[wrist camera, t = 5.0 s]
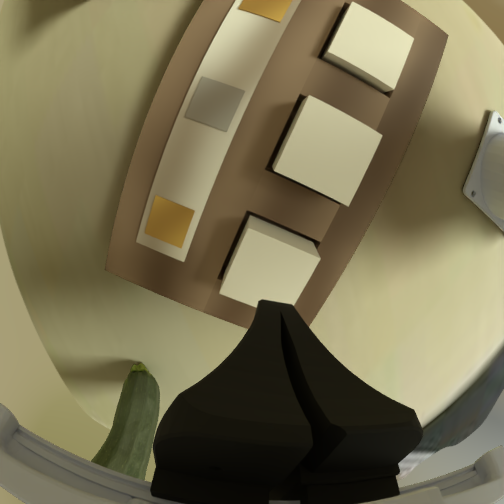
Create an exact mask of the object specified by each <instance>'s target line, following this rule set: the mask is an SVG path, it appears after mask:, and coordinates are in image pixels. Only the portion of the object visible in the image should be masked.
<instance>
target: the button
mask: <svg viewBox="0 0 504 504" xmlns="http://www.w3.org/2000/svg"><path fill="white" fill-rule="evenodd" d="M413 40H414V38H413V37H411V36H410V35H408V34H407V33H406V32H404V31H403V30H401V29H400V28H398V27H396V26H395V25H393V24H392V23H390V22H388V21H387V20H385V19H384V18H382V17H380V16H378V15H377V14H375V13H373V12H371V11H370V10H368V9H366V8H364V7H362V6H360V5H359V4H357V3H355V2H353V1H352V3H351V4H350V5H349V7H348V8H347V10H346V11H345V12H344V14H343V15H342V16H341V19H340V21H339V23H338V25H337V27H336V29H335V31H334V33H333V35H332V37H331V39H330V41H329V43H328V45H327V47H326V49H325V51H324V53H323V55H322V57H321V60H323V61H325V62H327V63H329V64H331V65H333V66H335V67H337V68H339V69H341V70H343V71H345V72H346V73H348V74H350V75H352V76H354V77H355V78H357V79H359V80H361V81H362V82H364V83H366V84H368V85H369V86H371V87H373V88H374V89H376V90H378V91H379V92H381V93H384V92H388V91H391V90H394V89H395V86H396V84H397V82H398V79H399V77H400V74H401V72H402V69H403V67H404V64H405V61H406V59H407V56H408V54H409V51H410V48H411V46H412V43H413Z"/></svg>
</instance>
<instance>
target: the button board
mask: <svg viewBox="0 0 504 504" xmlns="http://www.w3.org/2000/svg"><path fill="white" fill-rule="evenodd" d="M352 1H353V2H355V3H357V4H359V5H360V6H362V7H364V8H366V9H368V10H370V11H371V12H373V13H375V14H377V15H378V16H380V17H382V18H384V19H385V20H387V21H388V22H390V23H392V24H393V25H395V26H396V27H398V28H400V29H401V30H403V31H404V32H406V33H407V34H408V35H410V36H411V37H413V38H414V40H413V43H412V46H411V48H410V51H409V54H408V56H407V59H406V61H405V64H404V67H403V69H402V72H401V74H400V77H399V79H398V82H397V84H396V86H395V89H394V90H391V91H388V92H384V93H381V92H379V91H378V90H376V89H374V88H373V87H371V86H369V85H368V84H366V83H364V82H362V81H361V80H359V79H357V78H355V77H354V76H352V75H350V74H348V73H346V72H345V71H343V70H341V69H339V68H337V67H335V66H333V65H331V64H329V63H327V62H325V61H323V60H321V57H322V55H323V53H324V51H325V49H326V47H327V45H328V43H329V41H330V39H331V37H332V35H333V33H334V31H335V29H336V27H337V25H338V23H339V21H340V19H341V16H342V15H343V14H344V12H345V11H346V10H347V8H348V7H349V5H350V4H351V3H352ZM447 38H448V34H446V33H445V32H444V31H443V30H441V29H440V28H439V27H438V26H436V25H435V24H434V23H432V22H431V21H430V20H428V19H427V18H426V17H424V16H423V15H421V14H420V13H419V12H417V11H416V10H414V9H413V8H411V7H410V6H408V5H407V4H405V3H404V2H402V1H401V0H203V2H202V3H201V5H200V7H199V8H198V10H197V12H196V13H195V15H194V17H193V19H192V20H191V22H190V24H189V26H188V28H187V29H186V31H185V33H184V35H183V37H182V39H181V41H180V43H179V45H178V47H177V49H176V51H175V53H174V55H173V57H172V59H171V61H170V63H169V65H168V67H167V69H166V71H165V74H164V76H163V78H162V80H161V83H160V85H159V87H158V89H157V92H156V94H155V97H154V99H153V101H152V104H151V106H150V109H149V112H148V114H147V117H146V119H145V122H144V125H143V127H142V130H141V133H140V136H139V139H138V142H137V144H136V147H135V150H134V154H133V157H132V160H131V163H130V166H129V169H128V173H127V176H126V180H125V183H124V187H123V190H122V194H121V198H120V201H119V205H118V209H117V213H116V218H115V222H114V226H113V231H112V235H111V240H110V245H109V250H108V255H107V260H106V266H105V270H106V271H108V272H111V273H113V274H115V275H117V276H119V277H121V278H123V279H126V280H128V281H130V282H132V283H134V284H137V285H139V286H141V287H143V288H146V289H148V290H150V291H153V292H155V293H157V294H160V295H162V296H164V297H167V298H169V299H172V300H174V301H176V302H179V303H181V304H184V305H186V306H189V307H191V308H194V309H196V310H199V311H201V312H204V313H206V314H209V315H212V316H214V317H217V318H220V319H222V320H225V321H228V322H230V323H233V324H236V325H239V326H241V327H244V328H247V329H249V328H250V326H251V324H252V322H253V320H254V316H255V312H256V307H253V306H251V305H248V304H245V303H243V302H240V301H237V300H235V299H232V298H230V297H227V296H224V295H222V294H219V292H220V288H221V284H222V280H223V276H224V273H225V270H226V268H227V266H228V264H229V261H230V259H231V257H232V254H233V252H234V250H235V248H236V245H237V243H238V241H239V238H240V236H241V234H242V232H243V229H244V227H245V225H246V223H247V220H248V218H249V216H250V215H251V216H254V217H256V218H258V219H261V220H263V221H265V222H268V223H270V224H272V225H275V226H277V227H279V228H282V229H284V230H286V231H289V232H291V233H293V234H295V235H298V236H300V237H302V238H305V239H307V240H309V241H311V242H313V243H314V245H315V248H316V250H317V252H318V254H319V256H320V258H321V259H320V261H319V263H318V264H317V266H316V268H315V270H314V272H313V273H312V275H311V277H310V279H309V280H308V282H307V284H306V286H305V287H304V289H303V291H302V292H301V294H300V296H299V298H298V299H297V301H296V303H295V304H294V307H295V309H296V310H297V311H298V313H299V314H300V316H301V317H302V318H303V320H304V321H305V323H306V324H307V325H308V327H309V326H310V324H311V323H312V321H313V320H314V318H315V317H316V315H317V313H318V312H319V310H320V309H321V307H322V306H323V304H324V302H325V301H326V299H327V298H328V296H329V294H330V293H331V291H332V290H333V288H334V286H335V285H336V283H337V281H338V280H339V278H340V276H341V275H342V273H343V271H344V270H345V268H346V266H347V264H348V263H349V261H350V259H351V258H352V256H353V254H354V252H355V250H356V249H357V247H358V245H359V243H360V242H361V240H362V238H363V236H364V234H365V232H366V231H367V229H368V227H369V225H370V223H371V221H372V219H373V217H374V216H375V214H376V212H377V210H378V208H379V206H380V204H381V202H382V200H383V198H384V196H385V194H386V192H387V190H388V188H389V186H390V184H391V182H392V180H393V178H394V176H395V173H396V171H397V169H398V167H399V165H400V163H401V161H402V158H403V156H404V154H405V152H406V149H407V147H408V145H409V143H410V140H411V138H412V136H413V133H414V131H415V128H416V126H417V124H418V121H419V119H420V116H421V114H422V111H423V109H424V106H425V104H426V101H427V98H428V96H429V93H430V90H431V87H432V85H433V82H434V79H435V76H436V73H437V70H438V67H439V64H440V61H441V58H442V55H443V52H444V49H445V45H446V42H447ZM309 95H310V96H312V97H314V98H317V99H319V100H321V101H323V102H325V103H327V104H328V105H330V106H332V107H334V108H336V109H338V110H340V111H342V112H344V113H345V114H347V115H349V116H351V117H353V118H354V119H356V120H358V121H360V122H361V123H363V124H365V125H367V126H368V127H370V128H372V129H373V130H375V131H376V132H378V133H380V134H381V135H383V136H382V138H381V140H380V142H379V145H378V147H377V149H376V151H375V153H374V155H373V158H372V160H371V162H370V164H369V166H368V168H367V170H366V172H365V174H364V176H363V178H362V181H361V183H360V185H359V187H358V189H357V191H356V193H355V195H354V197H353V199H352V201H351V203H350V205H349V207H348V206H346V205H344V204H342V203H340V202H339V201H337V200H335V199H333V198H331V197H329V196H327V195H325V194H322V193H320V192H318V191H316V190H314V189H312V188H310V187H308V186H306V185H304V184H302V183H299V182H297V181H295V180H293V179H291V178H289V177H286V176H284V175H282V174H280V173H278V172H275V171H274V170H273V168H272V165H273V163H274V161H275V158H276V156H277V154H278V152H279V150H280V148H281V145H282V143H283V141H284V139H285V137H286V135H287V132H288V130H289V128H290V126H291V124H292V122H293V120H294V117H295V115H296V113H297V111H298V109H299V107H300V105H301V102H302V101H303V100H304V99H305V98H307V97H308V96H309Z"/></svg>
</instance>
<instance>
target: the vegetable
mask: <svg viewBox="0 0 504 504" xmlns="http://www.w3.org/2000/svg"><path fill="white" fill-rule="evenodd" d="M159 403H160V391H159V386H158V384H157V382H156V380H155V378H154V377H153V376H152V374H150V373H149V371H147V369H146V368H145V366H144V365H143V364H142V363H140V364H139V365H137V366H136V364H134V365H133V366H132V368H131V371H130V374H129V375H128V378H127V379H126V380H125V382H124V384H123V389H122V392H121V396H120V399H119V402H118V405H117V409H116V413H115V417H114V421H113V426H112V429H111V431H110V433H109V436H108V438H107V439H106V441H105V443H104V444H103V446H102V447H101V449H100V450H99V452H98V453H97V454H96V456H95V457H94V458H93V459H92V461H91V462H93V463H95V464H98V465H100V466H103V467H105V468H108V469H111V470H114V471H116V472H119V473H122V474H125V475H128V476H131V477H134V478H138V479H141V480H145V475H146V469H147V466H148V462H149V458H150V453H151V448H152V444H153V439H154V434H155V429H156V426H157V422H158V416H159Z"/></svg>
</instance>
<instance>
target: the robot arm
mask: <svg viewBox="0 0 504 504" xmlns="http://www.w3.org/2000/svg"><path fill="white" fill-rule="evenodd" d="M472 191H473V194H472V196H471V193H472ZM463 193H464V195H465V196H466V197H467V198H469V199H470V200H471V201H472V202H473V203H474V204H475V205H476V206H477V207H478V208H480V209H481V210H482V211H483V212H484V213H485V214H486V215H487V216H488V217H489V218H490V219H491V220H492V221H493V222H494V223H495V224H496V225H497V226H498V227H499V228H500V229H501V230H502V231H503V232H504V119H503V118H502V117H501V116H500V114H499V113H498V112H497V111H491V112H490V115H489V119H488V122H487V125H486V129H485V132H484V135H483V138H482V141H481V144H480V146H479V149H478V152H477V155H476V157H475V160H474V163H473V165H472V168H471V170H470V173H469V175H468V178H467V180H466V182H465V185H464V187H463ZM422 437H423V429H422V427H421V425H420V422H419V420H418V417H417V415H416V413H415V411H414V409H411V408H409V407H407V406H405V405H403V404H401V403H399V402H397V401H395V400H392V399H391V398H389V397H387V396H385V395H384V394H382V393H380V392H379V391H377V390H375V389H374V388H372V387H371V386H369V385H368V384H366V383H365V382H363V381H362V380H361V379H360V378H358V377H357V376H356V375H354V374H353V373H352V372H351V371H349V370H348V369H347V368H346V367H345V366H344V365H343V364H341V363H340V362H339V361H338V360H337V359H336V358H335V357H334V356H333V355H332V354H331V353H330V352H329V351H328V350H327V349H326V347H325V346H324V345H323V344H322V343H321V342H320V341H319V339H318V338H317V337H316V336H315V334H314V333H313V332H312V331H311V329H310V328H309V327H308V325H307V324H306V323H305V321H304V320H303V318H302V317H301V316H300V314H299V313H298V311H297V310H296V309H295V307H294V306H293V305H292V304H287V303H281V302H276V301H270V300H264V299H261V300H259V301H258V304H257V308H256V312H255V316H254V320H253V322H252V324H251V326H250V328H249V329H248V331H247V332H246V334H245V335H244V337H243V339H242V340H241V341H240V343H239V344H238V345H237V347H236V348H235V349H234V350H233V351H232V353H231V354H230V355H229V356H228V357H227V358H226V359H225V360H224V361H223V362H222V363H221V364H220V365H219V366H218V367H217V368H216V369H214V370H213V371H212V372H211V373H209V374H208V375H207V376H206V377H204V378H203V379H202V380H200V381H199V382H198V383H196V384H195V385H193V386H191V387H190V388H188V389H186V390H185V391H183V392H182V393H180V394H179V395H178V396H177V397H176V399H175V400H174V401H173V403H172V404H171V405H170V407H169V408H168V410H167V411H166V413H165V414H164V416H163V418H162V420H161V421H160V424H159V426H158V428H157V431H156V435H155V438H154V442H153V453H154V458H155V463H156V468H155V472H154V476H153V480H152V483H151V482H148V481H144V480H141V479H138V478H134V477H131V476H128V475H125V474H122V473H119V472H116V471H114V470H111V469H108V468H105V467H103V466H100V465H98V464H95V463H93V462H90V461H88V460H86V459H83V458H81V457H79V456H77V455H75V454H72V453H70V452H68V451H66V450H64V449H62V448H60V447H58V446H56V445H54V444H52V443H50V442H48V441H47V440H45V439H43V438H41V437H39V436H38V435H36V434H34V433H32V432H31V431H29V430H27V429H26V428H24V427H22V426H21V425H19V423H18V421H17V419H16V418H15V416H14V415H13V414H12V412H11V411H10V410H9V409H8V408H6V407H5V406H4V405H2V404H1V403H0V486H1V487H2V488H4V489H5V490H7V491H8V492H9V493H11V494H12V495H14V496H15V497H16V498H18V499H19V500H21V501H22V502H24V503H26V504H494V503H496V502H497V501H499V500H500V499H502V498H503V497H504V448H503V446H502V445H501V446H499V447H497V448H494V449H492V450H490V451H488V452H487V453H485V454H484V455H482V456H481V457H480V458H479V459H478V460H477V461H475V463H474V464H472V465H469V466H467V467H465V468H462V469H459V470H457V471H454V472H451V473H448V474H446V475H443V476H440V477H437V478H434V479H430V480H427V481H424V482H420V483H417V484H413V485H409V486H405V487H401V488H399V487H398V483H397V480H396V475H398V474H399V473H400V469H399V466H398V463H399V462H400V461H401V460H403V459H404V458H405V457H406V456H407V455H408V454H409V453H410V452H412V451H413V450H414V449H415V448H416V446H417V445H418V444H419V443H420V441H421V439H422Z"/></svg>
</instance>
